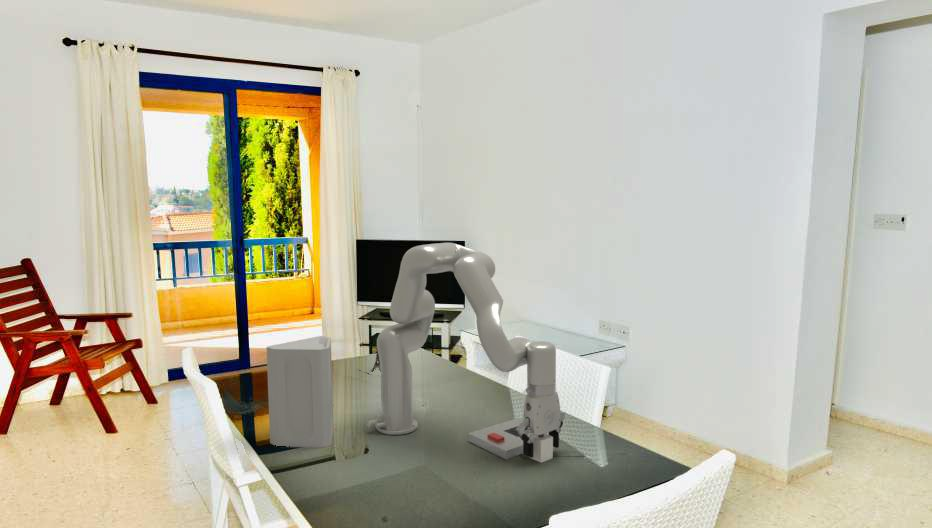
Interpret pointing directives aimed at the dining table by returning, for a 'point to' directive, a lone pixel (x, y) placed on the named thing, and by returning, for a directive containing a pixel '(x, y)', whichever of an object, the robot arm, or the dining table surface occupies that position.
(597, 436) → the dining table surface
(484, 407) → the dining table surface
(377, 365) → the eiffel tower figurine
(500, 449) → the socket plate
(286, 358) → the paper bag
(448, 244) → the robot arm
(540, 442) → the plug
